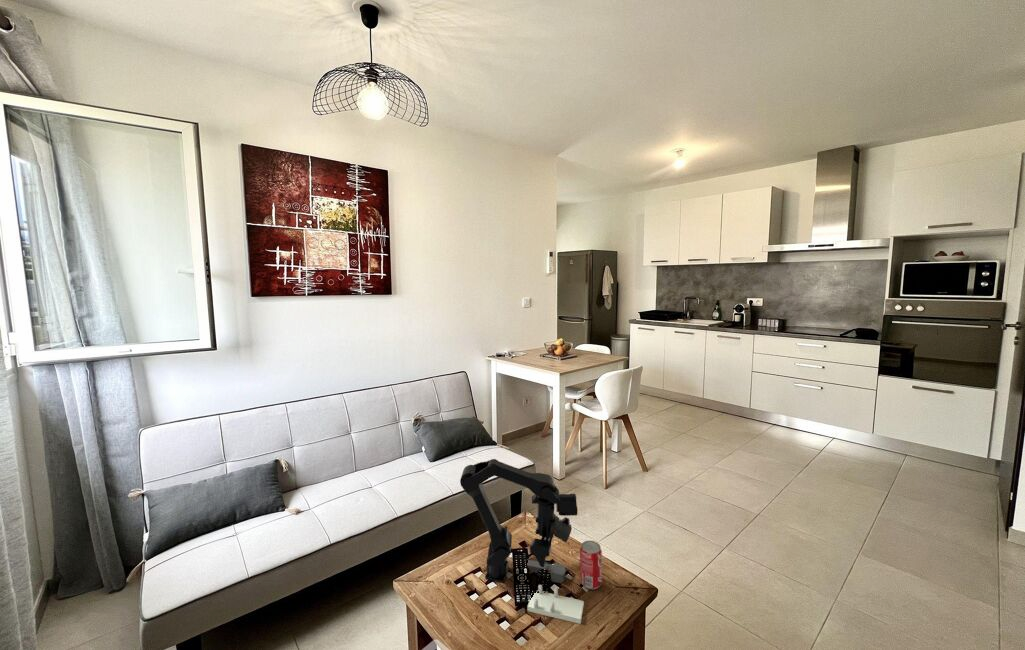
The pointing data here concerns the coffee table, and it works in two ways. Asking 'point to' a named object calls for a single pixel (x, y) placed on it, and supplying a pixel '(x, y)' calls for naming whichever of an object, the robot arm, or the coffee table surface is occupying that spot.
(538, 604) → the rack
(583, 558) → the soda can
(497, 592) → the coffee table surface
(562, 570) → the grey t-shaped plate
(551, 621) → the coffee table surface
